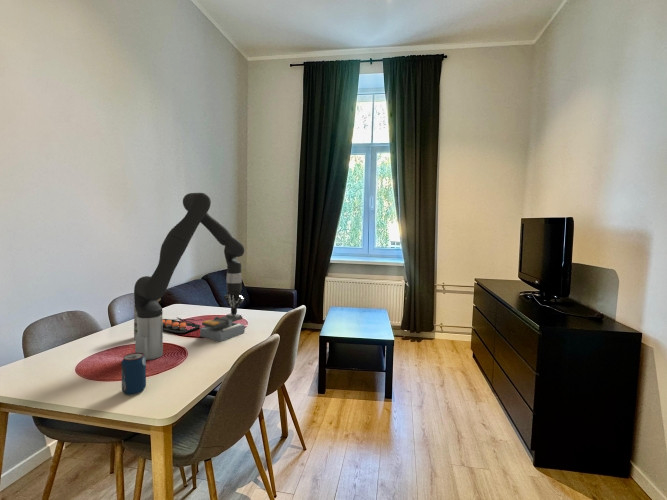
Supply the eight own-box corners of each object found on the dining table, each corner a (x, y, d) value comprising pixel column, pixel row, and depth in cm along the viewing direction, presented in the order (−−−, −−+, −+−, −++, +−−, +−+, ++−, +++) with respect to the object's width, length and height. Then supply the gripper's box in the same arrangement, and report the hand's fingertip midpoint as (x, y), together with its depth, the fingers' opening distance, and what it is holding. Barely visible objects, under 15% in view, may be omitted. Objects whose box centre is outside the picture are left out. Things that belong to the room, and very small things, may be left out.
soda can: (150, 386, 117) (150, 352, 116) (137, 396, 110) (137, 360, 109) (130, 385, 117) (130, 351, 116) (116, 395, 110) (116, 359, 109)
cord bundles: (224, 331, 164) (224, 329, 164) (205, 327, 170) (205, 324, 170) (241, 325, 174) (241, 323, 174) (222, 321, 180) (222, 319, 180)
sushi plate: (140, 328, 180) (140, 321, 179) (184, 315, 207) (184, 308, 207) (181, 336, 169) (181, 329, 168) (223, 321, 196) (223, 315, 196)
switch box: (220, 341, 162) (220, 324, 161) (200, 336, 169) (200, 319, 168) (244, 332, 176) (244, 317, 175) (224, 328, 183) (224, 313, 182)
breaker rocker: (213, 328, 162) (213, 323, 161) (202, 325, 165) (202, 321, 165) (242, 319, 178) (242, 315, 178) (231, 317, 182) (231, 312, 182)
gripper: (219, 281, 177) (219, 313, 178) (238, 283, 171) (238, 317, 172) (230, 279, 183) (229, 310, 185) (248, 281, 177) (248, 314, 178)
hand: (234, 314), depth 178 cm, fingers closed
